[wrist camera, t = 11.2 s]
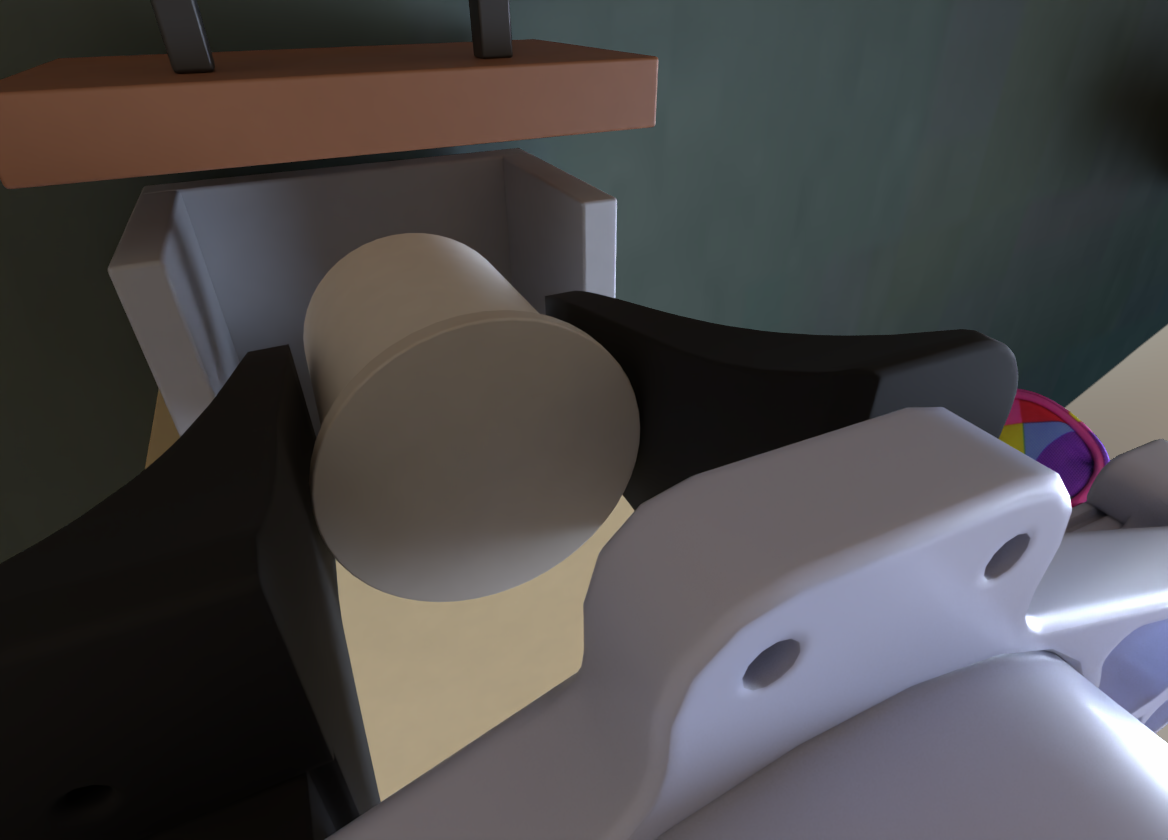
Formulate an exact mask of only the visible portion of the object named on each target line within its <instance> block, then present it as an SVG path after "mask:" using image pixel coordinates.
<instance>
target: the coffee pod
mask: <svg viewBox="0 0 1168 840" xmlns="http://www.w3.org/2000/svg"><path fill="white" fill-rule="evenodd" d="M303 340H304V350H305V355H306V360H307V364H308V369H309V373H310V378H311V383H312V387H313V392H314V396H315V401H316V405H317V410H318V415H319V419H320V424H321V428H320V431H319V433H318V436H317V438H316V441H315V444H314V449H313V453H312V458H311V462H310V477H309V486H310V495H311V503H312V509H313V514H314V518H315V521H316V524H317V527H318V531H319V533H320V535H321V537H322V539H323V541H324V543H325V545H326V546H327V548H328V549H329V551H330V552H331V553H332V555H333V556H334V557H335V559H336V560H337V561H338V562H339V563H340V564H341V565H342V566H343V567H344V568H345V569H346V570H347V571H349V572H350V573H351V574H352V575H353V576H355V577H356V578H358V579H359V580H361V581H362V582H364V583H365V584H367V585H369V586H371V587H373V588H375V589H377V590H380V591H382V592H384V593H387V594H390V595H394V596H397V597H400V598H405V599H411V600H416V601H427V602H454V601H463V600H470V599H477V598H481V597H485V596H489V595H493V594H497V593H500V592H503V591H506V590H508V589H511V588H514V587H516V586H519V585H521V584H523V583H526V582H528V581H530V580H532V579H534V578H536V577H538V576H539V575H541V574H543V573H545V572H547V571H548V570H550V569H551V568H553V567H555V566H556V565H558V564H559V563H561V562H562V561H564V560H565V559H566V558H567V557H569V556H570V555H571V554H572V553H574V552H575V551H576V550H578V549H579V548H580V547H581V546H582V545H583V544H584V543H585V542H586V541H587V540H588V539H589V538H590V537H591V536H592V535H593V534H594V533H595V532H596V531H597V530H598V529H599V527H600V526H601V525H602V524H603V523H604V522H605V520H606V519H607V518H608V516H609V515H610V514H611V512H612V511H613V509H614V508H615V506H616V505H617V503H618V501H619V500H620V498H621V496H622V495H623V493H624V491H625V489H626V486H627V484H628V482H629V480H630V478H631V475H632V472H633V469H634V465H635V462H636V459H637V453H638V448H639V441H640V418H639V409H638V405H637V401H636V396H635V393H634V391H633V388H632V386H631V383H630V381H629V379H628V377H627V375H626V374H625V372H624V371H623V369H622V367H621V366H620V364H619V363H618V362H617V361H616V360H615V359H614V358H613V356H612V355H611V354H610V353H609V352H608V351H607V350H606V349H605V348H604V347H603V346H602V345H601V344H599V343H598V342H597V341H596V340H594V339H593V338H592V337H591V336H589V335H588V334H587V333H585V332H584V331H582V330H580V329H578V328H577V327H575V326H573V325H571V324H570V323H567V322H564V321H562V320H559V319H557V318H554V317H551V316H547V315H543V314H539V313H538V312H537V311H536V310H535V309H534V308H533V307H532V306H531V305H530V303H529V302H528V301H527V300H526V299H525V298H524V297H523V296H522V295H521V294H520V293H519V292H518V291H517V290H516V289H515V288H514V287H513V286H512V285H511V284H510V283H509V282H508V281H507V280H506V279H505V278H504V277H503V276H502V275H501V274H500V273H499V272H498V271H497V270H496V269H495V268H494V267H493V266H492V265H491V264H490V263H489V262H488V261H487V260H486V259H485V258H484V257H483V256H481V255H480V254H479V253H478V252H476V251H475V250H473V249H471V248H470V247H468V246H466V245H465V244H462V243H460V242H458V241H455V240H453V239H450V238H447V237H443V236H439V235H434V234H426V233H404V234H396V235H391V236H387V237H383V238H379V239H376V240H374V241H371V242H369V243H367V244H364V245H362V246H361V247H359V248H357V249H355V250H353V251H352V252H350V253H349V254H347V255H346V256H345V257H344V258H342V259H341V260H340V261H338V262H337V263H336V264H335V265H334V266H333V267H332V268H331V269H330V270H329V271H328V272H327V274H326V275H325V276H324V278H323V279H322V280H321V282H320V283H319V284H318V286H317V288H316V290H315V292H314V294H313V295H312V297H311V300H310V303H309V306H308V308H307V312H306V317H305V321H304V333H303Z"/></svg>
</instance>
